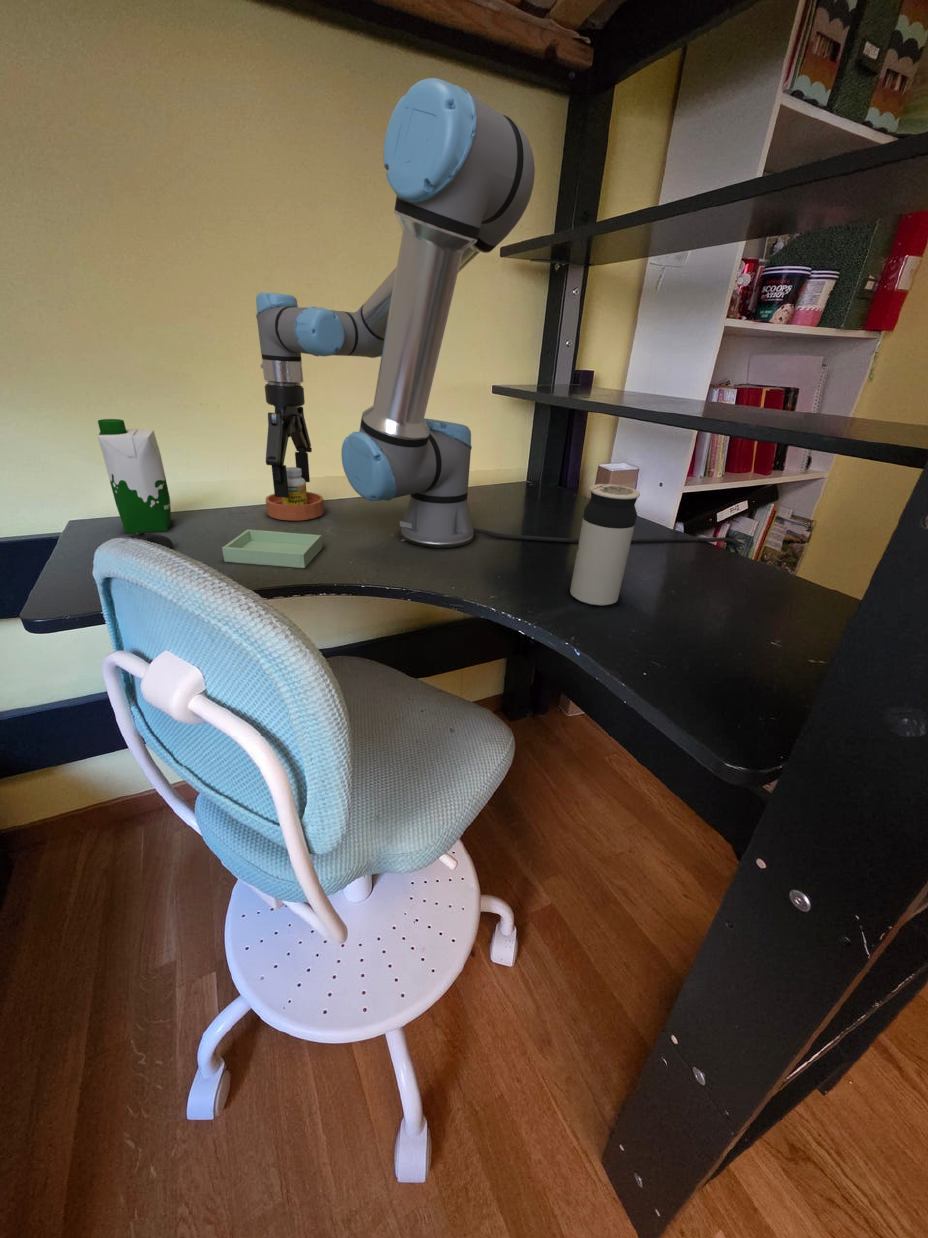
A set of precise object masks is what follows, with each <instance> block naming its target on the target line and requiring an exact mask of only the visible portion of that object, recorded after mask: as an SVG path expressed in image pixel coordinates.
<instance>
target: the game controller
mask: <svg viewBox="0 0 928 1238" xmlns="http://www.w3.org/2000/svg"><path fill="white" fill-rule="evenodd" d="M126 537H131V538H137V539H143V540H147V541H150V542H154V543H157V544H161V545H163V546H166V547H169V548H170V549H172V548H173V544H174V543H173V541H172V540H171V538H169V537H168V536H165V535H161V534H155V533H145V532H138V533H130V534H129V535H128V536H126Z"/></svg>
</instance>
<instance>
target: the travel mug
mask: <svg viewBox="0 0 928 1238" xmlns="http://www.w3.org/2000/svg"><path fill="white" fill-rule="evenodd" d="M589 491H590V500H589V501H588V502H587V504H586V505H585V507H584V510H583V516H582V522H581V527H580V533H579V538H578V539H579V543H577V550H576V555H575V561H574V566H573V571H572V572H573V573H572V577H571V583H570V589H569V593H570V595H571V596H572V597H573V598H575V599H576V600H577V601H579V602H581V603H584V604H588V605H592V606H609V605H614V604H615V603H617V602H618V600H619V597H620V591H621V588H622V584H623V579H624V575H625V570H626V566H627V562H628V557H629V552H630V548H631V544H632V543H631V540H632V538H633V535H634V531H635V526H636V521H637V517H638V513H637V509H636V506H635V505H636V502H637V500H638V498H639V497H640V496H641V493H640V491H639V490H637V489H635V488H632V487H629V486H625V485H619V484H613V483H612V484H611V483H597V484H593V485H591V486H590V487H589Z"/></svg>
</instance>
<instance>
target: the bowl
mask: <svg viewBox="0 0 928 1238" xmlns="http://www.w3.org/2000/svg"><path fill="white" fill-rule="evenodd" d="M307 501H308V504H306V505H283V501H282V497H275V493H272V494H269V495H267V496H266V497H265V507H266V514H267V516H269V517H270V518H272V519H276V520H282V521H292V522H297V521H307V520H312V519H316V518H319V517H321V516H323V515H324V514H325V507H324V506H325V505H324V496H323V495H321V494H319V493H316V492H312V491H311V492H310V491H307Z"/></svg>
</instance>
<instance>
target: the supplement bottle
mask: <svg viewBox="0 0 928 1238" xmlns="http://www.w3.org/2000/svg"><path fill="white" fill-rule="evenodd" d="M286 471H287V482H288V493H289V497H288V498H285V497H282V501H283V505H306V504H308V501H307V492H308V489H307V482H306V481H305V480H304V479H303V478H301V476H302V471H301V469H300V468H296V466H294V467H293V466H292V467H289V466H288V467H286Z"/></svg>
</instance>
